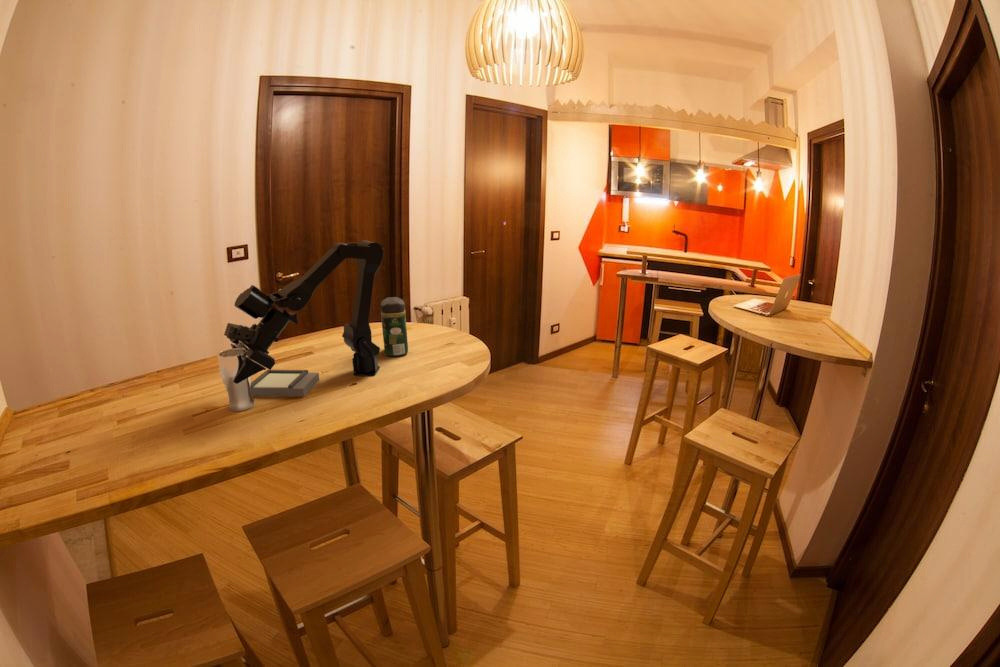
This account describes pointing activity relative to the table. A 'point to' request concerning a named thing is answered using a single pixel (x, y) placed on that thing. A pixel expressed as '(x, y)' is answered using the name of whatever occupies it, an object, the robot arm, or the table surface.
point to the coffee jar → (394, 326)
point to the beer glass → (228, 369)
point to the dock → (284, 383)
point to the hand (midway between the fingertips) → (230, 378)
